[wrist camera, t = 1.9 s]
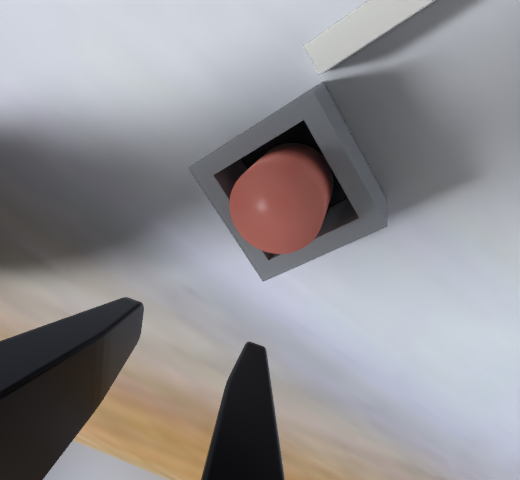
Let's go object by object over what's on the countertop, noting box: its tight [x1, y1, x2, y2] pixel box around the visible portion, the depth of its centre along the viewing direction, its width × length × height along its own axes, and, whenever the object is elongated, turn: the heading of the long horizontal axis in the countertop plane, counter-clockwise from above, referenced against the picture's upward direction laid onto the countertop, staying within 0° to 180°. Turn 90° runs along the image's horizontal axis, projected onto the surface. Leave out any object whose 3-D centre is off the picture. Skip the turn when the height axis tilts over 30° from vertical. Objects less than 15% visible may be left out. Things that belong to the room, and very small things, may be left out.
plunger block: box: [189, 82, 387, 281], centre depth 19 cm, size 6×6×4 cm
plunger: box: [229, 143, 334, 254], centre depth 17 cm, size 4×4×4 cm
